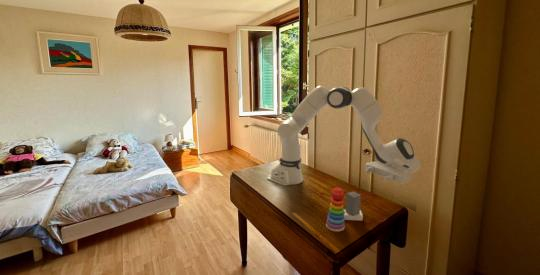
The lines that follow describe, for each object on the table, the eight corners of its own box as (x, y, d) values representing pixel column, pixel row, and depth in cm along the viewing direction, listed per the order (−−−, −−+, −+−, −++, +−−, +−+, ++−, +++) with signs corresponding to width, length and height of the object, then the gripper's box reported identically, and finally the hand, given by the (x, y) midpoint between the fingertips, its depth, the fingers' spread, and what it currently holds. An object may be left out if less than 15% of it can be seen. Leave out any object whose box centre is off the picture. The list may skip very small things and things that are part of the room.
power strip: (336, 221, 113) (337, 214, 112) (335, 215, 117) (335, 208, 116) (362, 223, 111) (362, 215, 110) (359, 216, 116) (360, 209, 115)
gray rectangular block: (351, 213, 117) (353, 191, 114) (359, 218, 113) (360, 195, 110) (345, 215, 115) (346, 193, 112) (352, 220, 111) (354, 197, 108)
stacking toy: (336, 236, 103) (338, 194, 98) (321, 227, 109) (323, 187, 104) (348, 229, 107) (351, 188, 102) (333, 220, 113) (335, 182, 109)
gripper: (377, 157, 129) (357, 162, 123) (415, 169, 111) (394, 175, 105) (376, 168, 131) (356, 174, 124) (414, 182, 113) (393, 189, 107)
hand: (374, 175), depth 115 cm, fingers open, 8 cm apart
